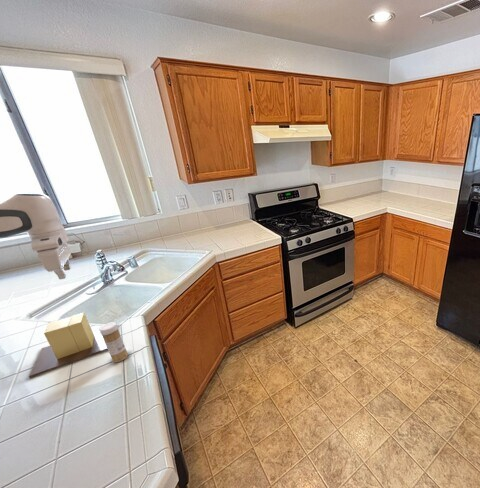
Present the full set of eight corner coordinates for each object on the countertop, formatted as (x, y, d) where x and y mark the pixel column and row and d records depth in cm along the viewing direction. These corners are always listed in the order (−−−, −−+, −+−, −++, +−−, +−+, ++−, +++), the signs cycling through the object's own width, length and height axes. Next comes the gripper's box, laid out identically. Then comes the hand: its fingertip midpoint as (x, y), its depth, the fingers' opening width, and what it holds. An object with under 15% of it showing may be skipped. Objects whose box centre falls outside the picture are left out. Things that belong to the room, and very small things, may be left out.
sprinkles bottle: (124, 351, 93) (111, 320, 89) (131, 355, 91) (119, 323, 87) (109, 360, 90) (95, 328, 85) (116, 364, 88) (103, 331, 83)
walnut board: (29, 378, 84) (28, 376, 84) (42, 349, 96) (41, 348, 96) (114, 347, 96) (113, 345, 95) (116, 326, 108) (115, 324, 108)
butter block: (57, 359, 90) (43, 333, 87) (61, 347, 96) (49, 322, 92) (79, 351, 94) (67, 325, 90) (82, 340, 99) (71, 316, 95)
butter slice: (80, 351, 94) (68, 325, 90) (83, 340, 99) (72, 315, 96) (92, 347, 95) (81, 322, 92) (94, 336, 101) (84, 312, 98)
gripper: (45, 234, 99) (59, 267, 103) (29, 248, 83) (47, 286, 87) (67, 230, 102) (80, 262, 107) (56, 243, 86) (72, 280, 91)
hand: (65, 273), depth 97 cm, fingers open, 8 cm apart
